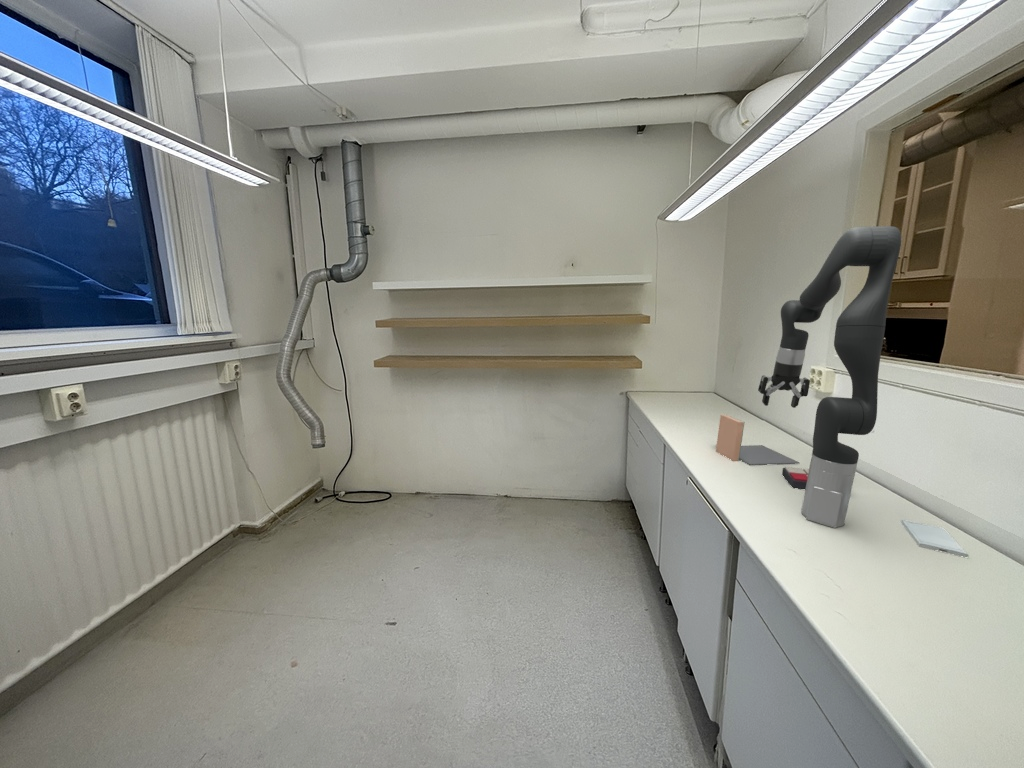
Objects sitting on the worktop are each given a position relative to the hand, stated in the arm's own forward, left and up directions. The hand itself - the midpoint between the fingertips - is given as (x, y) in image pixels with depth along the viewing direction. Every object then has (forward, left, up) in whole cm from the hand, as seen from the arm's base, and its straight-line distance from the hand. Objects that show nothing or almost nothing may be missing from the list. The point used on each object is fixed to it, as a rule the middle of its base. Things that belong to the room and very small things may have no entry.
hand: (779, 405), depth 134 cm
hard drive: (-24, -38, -23) cm, 51 cm away
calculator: (-8, -13, -23) cm, 28 cm away
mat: (+9, +6, -22) cm, 25 cm away
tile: (0, +14, -22) cm, 26 cm away
